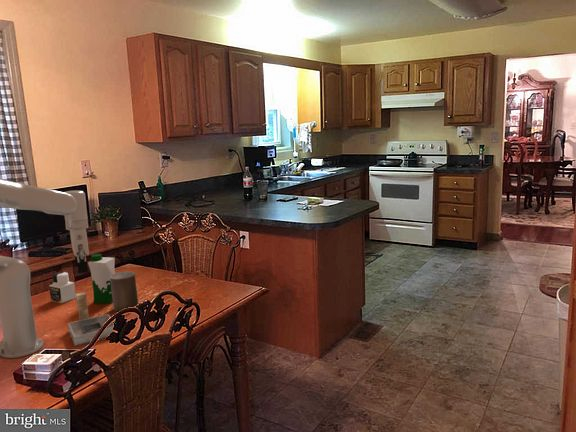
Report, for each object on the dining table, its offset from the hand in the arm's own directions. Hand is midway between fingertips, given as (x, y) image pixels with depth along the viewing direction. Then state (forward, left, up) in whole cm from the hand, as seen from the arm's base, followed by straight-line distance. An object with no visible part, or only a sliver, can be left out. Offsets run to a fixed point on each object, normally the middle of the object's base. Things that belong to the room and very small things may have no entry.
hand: (81, 269), depth 172 cm
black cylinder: (-2, -3, -21) cm, 21 cm away
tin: (-1, -14, -21) cm, 25 cm away
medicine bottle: (-5, +31, -21) cm, 38 cm away
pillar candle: (+15, +5, -21) cm, 26 cm away
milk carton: (+10, +18, -21) cm, 29 cm away
